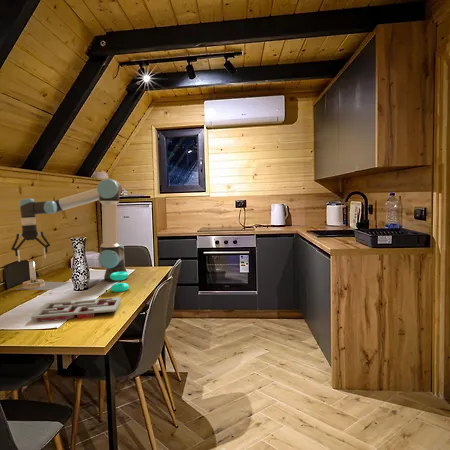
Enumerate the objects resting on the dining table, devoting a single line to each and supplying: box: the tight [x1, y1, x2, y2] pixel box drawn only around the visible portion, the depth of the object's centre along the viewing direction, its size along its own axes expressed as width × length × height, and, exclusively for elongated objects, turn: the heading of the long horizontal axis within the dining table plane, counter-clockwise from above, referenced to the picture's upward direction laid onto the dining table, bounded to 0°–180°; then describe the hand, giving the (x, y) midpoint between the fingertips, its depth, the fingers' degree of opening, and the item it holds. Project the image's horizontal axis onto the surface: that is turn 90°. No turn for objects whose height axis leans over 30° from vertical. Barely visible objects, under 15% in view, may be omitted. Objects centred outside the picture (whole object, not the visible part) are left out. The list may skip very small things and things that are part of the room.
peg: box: [28, 261, 37, 283], centre depth 204 cm, size 3×3×15 cm
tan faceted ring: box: [22, 278, 45, 289], centre depth 205 cm, size 11×11×3 cm
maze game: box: [30, 296, 122, 322], centre depth 158 cm, size 35×20×3 cm, turn 100°
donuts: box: [110, 271, 130, 293], centre depth 195 cm, size 10×10×10 cm
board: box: [14, 281, 71, 291], centre depth 206 cm, size 24×18×2 cm
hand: (32, 259), depth 204 cm, fingers open, 13 cm apart
